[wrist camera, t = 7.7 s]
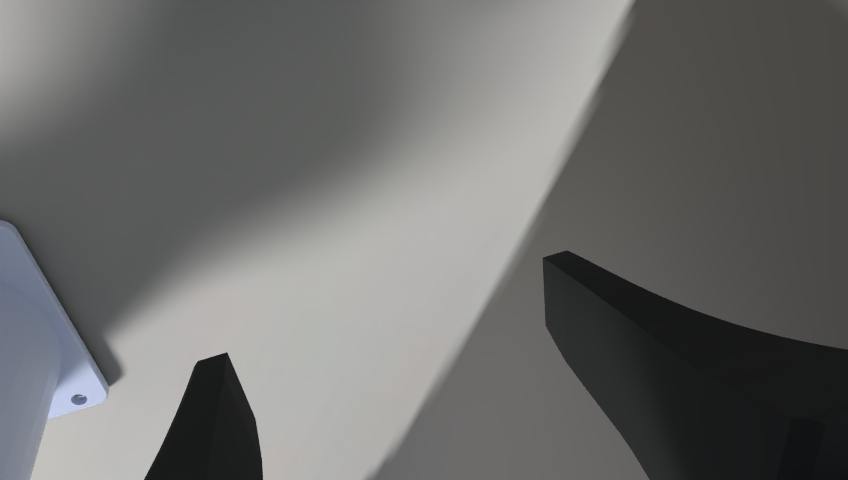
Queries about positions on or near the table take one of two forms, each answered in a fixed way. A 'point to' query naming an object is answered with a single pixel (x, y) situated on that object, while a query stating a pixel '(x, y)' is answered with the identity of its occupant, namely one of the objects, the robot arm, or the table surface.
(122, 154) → the table surface
